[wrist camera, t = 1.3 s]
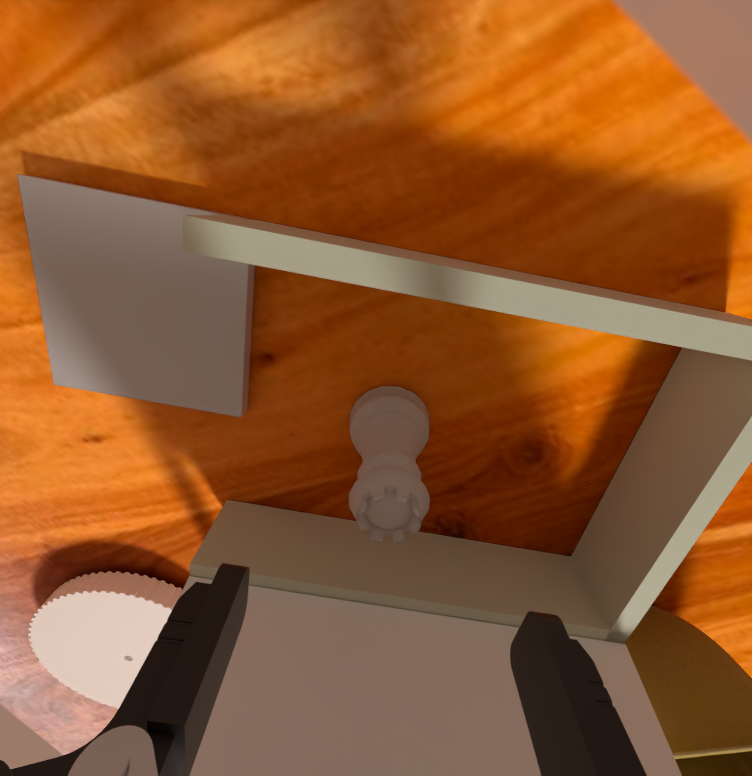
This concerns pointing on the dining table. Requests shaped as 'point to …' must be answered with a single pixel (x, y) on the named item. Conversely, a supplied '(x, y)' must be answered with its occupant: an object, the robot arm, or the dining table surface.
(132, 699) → the robot arm
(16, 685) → the dining table surface
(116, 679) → the plastic lid
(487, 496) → the dining table surface
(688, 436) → the frame
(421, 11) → the dining table surface
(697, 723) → the flower pot
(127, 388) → the slate tile
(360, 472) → the rook chess piece
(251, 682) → the lid propped
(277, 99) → the dining table surface
